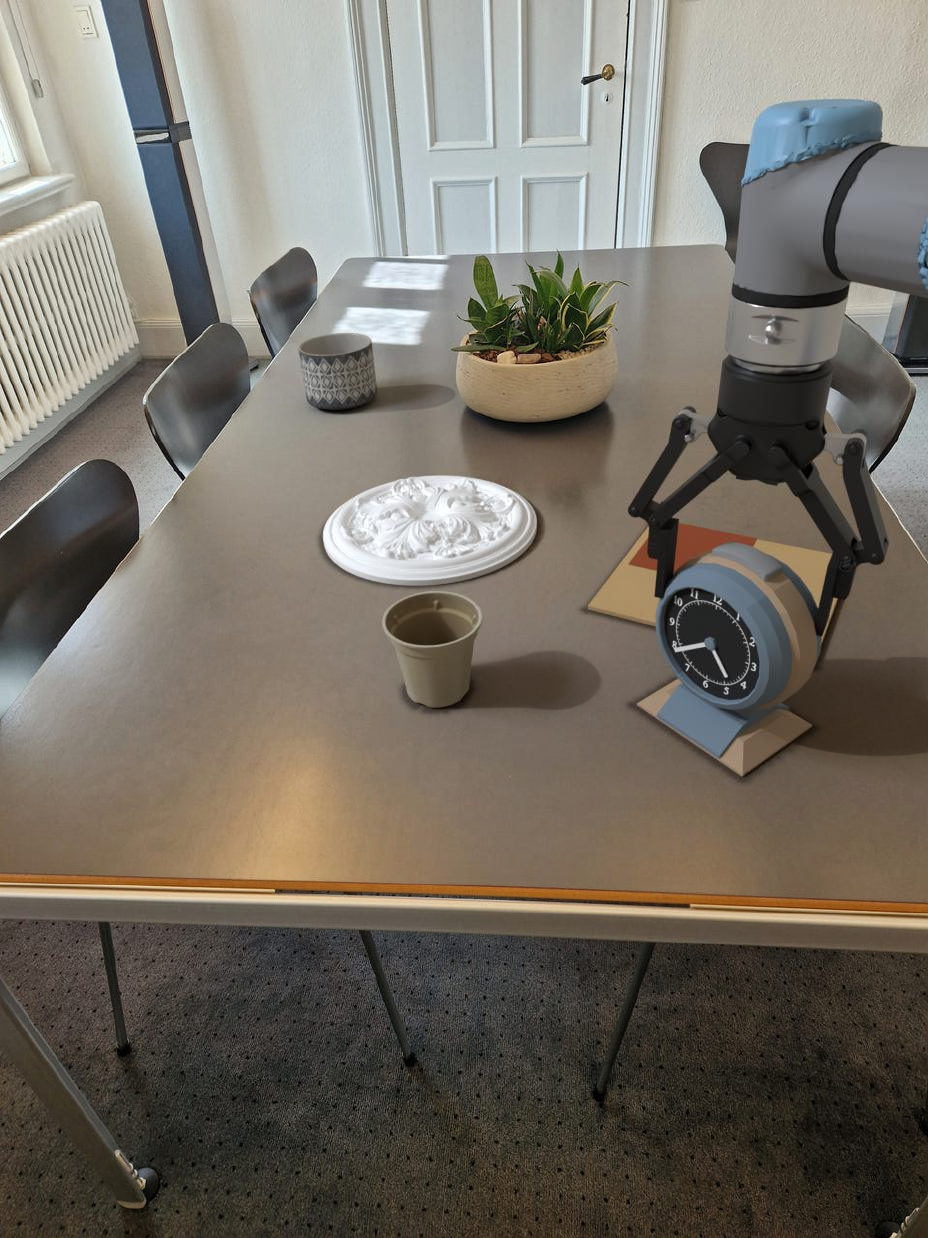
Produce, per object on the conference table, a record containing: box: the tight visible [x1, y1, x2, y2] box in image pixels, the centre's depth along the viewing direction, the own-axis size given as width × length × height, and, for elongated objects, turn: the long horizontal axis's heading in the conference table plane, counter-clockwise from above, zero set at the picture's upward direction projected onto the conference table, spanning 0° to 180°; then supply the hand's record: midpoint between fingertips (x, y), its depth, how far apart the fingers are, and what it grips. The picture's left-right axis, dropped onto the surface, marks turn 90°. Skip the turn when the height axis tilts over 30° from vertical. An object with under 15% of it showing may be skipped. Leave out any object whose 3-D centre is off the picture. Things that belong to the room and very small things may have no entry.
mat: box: [587, 522, 839, 646], centre depth 97 cm, size 24×22×1 cm
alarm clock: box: [636, 542, 822, 777], centre depth 74 cm, size 14×10×18 cm
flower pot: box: [381, 590, 483, 709], centre depth 82 cm, size 9×9×9 cm
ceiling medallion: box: [322, 475, 538, 587], centre depth 111 cm, size 28×28×3 cm
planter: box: [297, 332, 378, 411], centre depth 150 cm, size 13×13×10 cm
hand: (738, 608), depth 72 cm, fingers closed on alarm clock, 12 cm apart
